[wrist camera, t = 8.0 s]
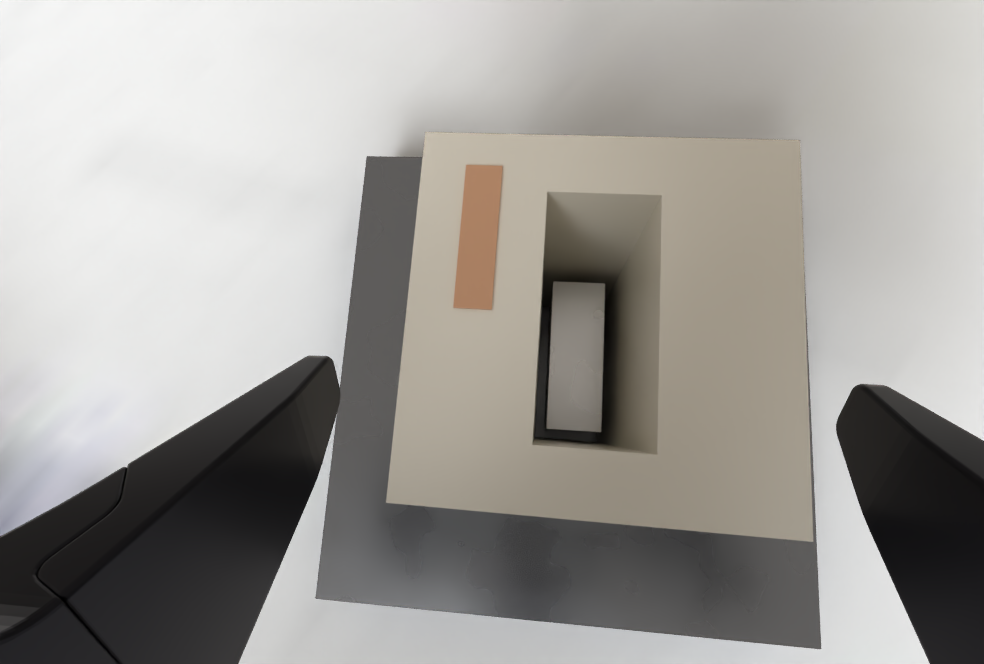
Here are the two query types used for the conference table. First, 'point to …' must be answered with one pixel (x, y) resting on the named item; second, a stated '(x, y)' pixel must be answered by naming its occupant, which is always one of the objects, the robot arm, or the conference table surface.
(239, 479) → the robot arm
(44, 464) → the conference table surface
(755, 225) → the beige slotted holder
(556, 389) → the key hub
